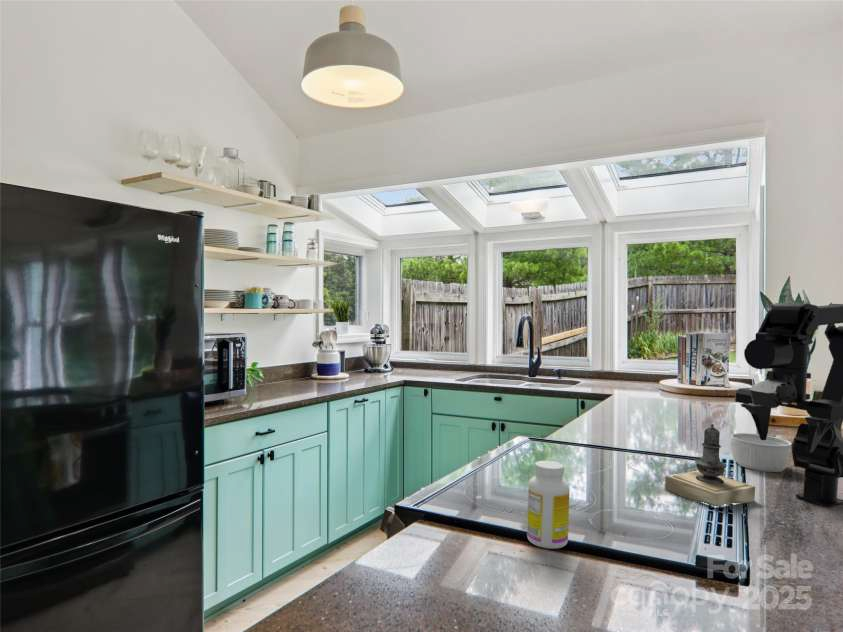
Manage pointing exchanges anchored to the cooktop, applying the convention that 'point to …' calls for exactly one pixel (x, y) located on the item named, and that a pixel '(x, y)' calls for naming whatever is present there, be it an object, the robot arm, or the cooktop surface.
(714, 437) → the salt shaker
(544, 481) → the supplement bottle
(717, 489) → the soap dish
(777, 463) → the ramekin
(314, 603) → the cooktop surface
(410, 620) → the cooktop surface
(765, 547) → the cooktop surface
